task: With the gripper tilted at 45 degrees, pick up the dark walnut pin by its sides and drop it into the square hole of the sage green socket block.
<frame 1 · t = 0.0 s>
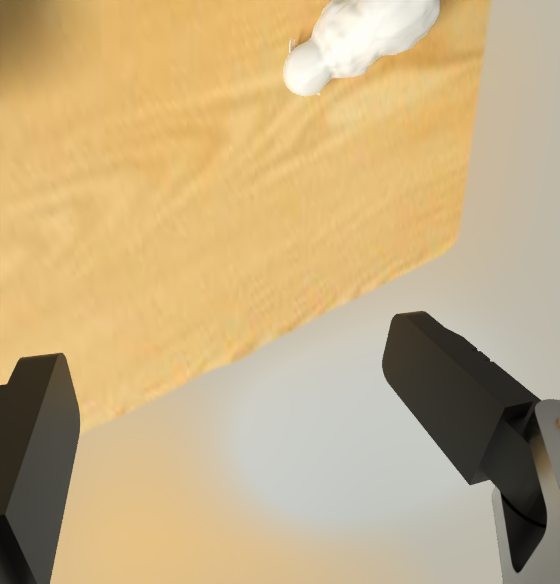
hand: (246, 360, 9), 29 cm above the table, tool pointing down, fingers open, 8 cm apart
white animal figurine: (330, 42, 33), on the table
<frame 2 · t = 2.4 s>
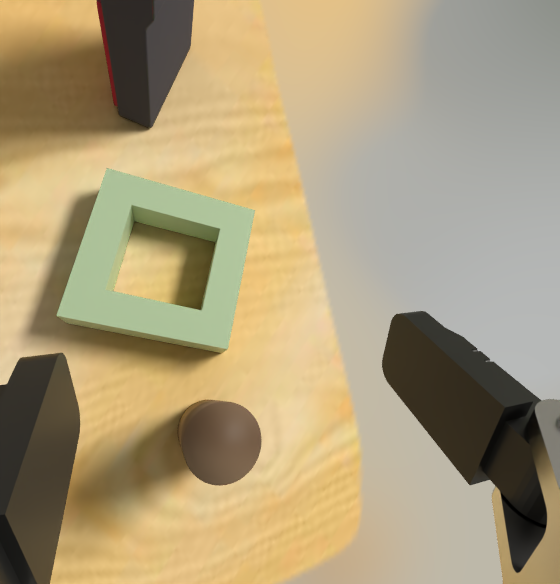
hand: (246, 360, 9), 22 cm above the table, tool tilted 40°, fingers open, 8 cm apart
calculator: (156, 81, 36), on the table
walnut pin: (206, 429, 30), on the table
socket block: (166, 269, 32), on the table
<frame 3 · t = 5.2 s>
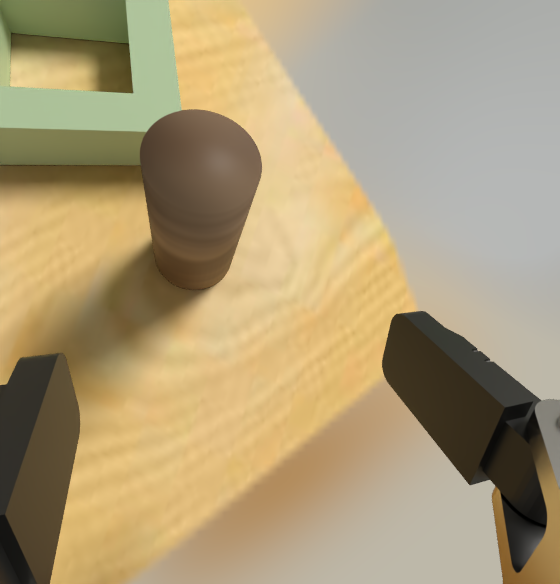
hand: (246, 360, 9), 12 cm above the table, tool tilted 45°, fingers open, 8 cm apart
walnut pin: (193, 254, 22), on the table
socket block: (75, 82, 24), on the table
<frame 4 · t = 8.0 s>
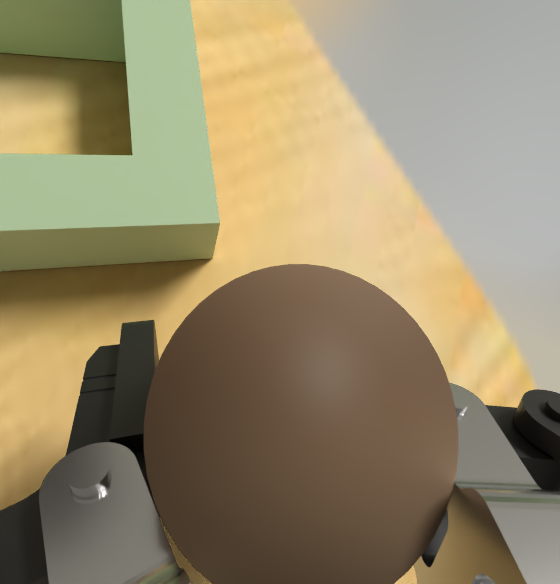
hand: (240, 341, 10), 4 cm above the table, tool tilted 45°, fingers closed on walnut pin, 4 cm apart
walnut pin: (230, 415, 13), on the table, touching gripper
socket block: (40, 125, 15), on the table
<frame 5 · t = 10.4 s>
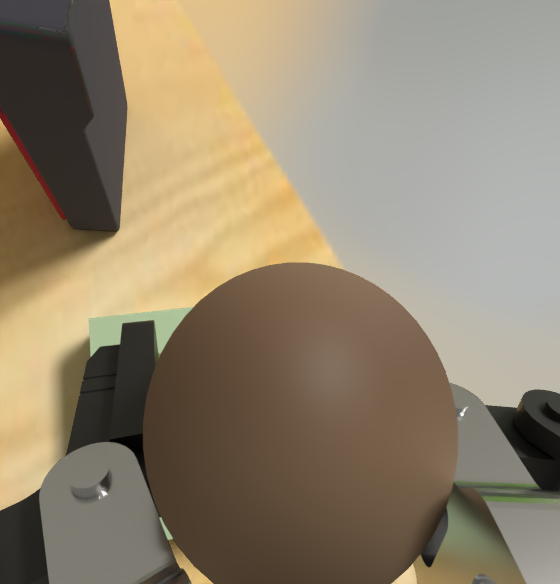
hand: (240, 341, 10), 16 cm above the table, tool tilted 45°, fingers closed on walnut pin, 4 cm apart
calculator: (101, 165, 28), on the table
walnut pin: (231, 414, 13), point 12 cm above the table, touching gripper
socket block: (205, 408, 24), on the table
when the fingers open (6 cm above the table, at t = 12.8 s): walnut pin drops 1 cm, resting in socket block.
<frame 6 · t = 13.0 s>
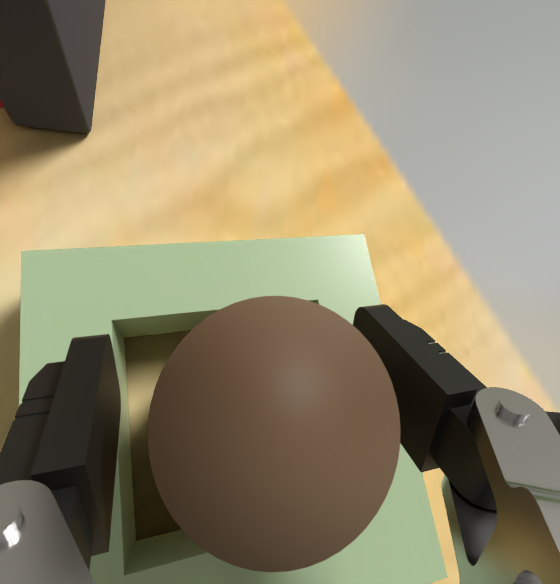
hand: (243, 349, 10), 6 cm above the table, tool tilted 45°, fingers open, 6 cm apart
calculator: (67, 42, 18), on the table
walnut pin: (225, 416, 15), resting in socket block
socket block: (225, 415, 15), on the table
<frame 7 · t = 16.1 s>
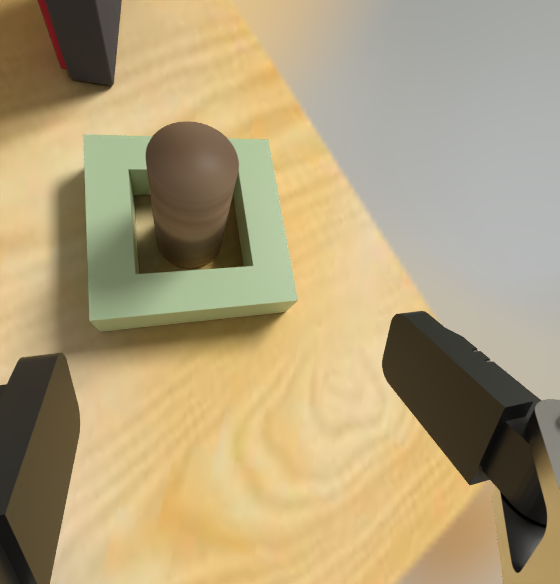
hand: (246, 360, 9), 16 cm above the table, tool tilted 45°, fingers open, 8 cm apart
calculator: (98, 32, 30), on the table
walnut pin: (189, 238, 27), resting in socket block
socket block: (189, 238, 27), on the table
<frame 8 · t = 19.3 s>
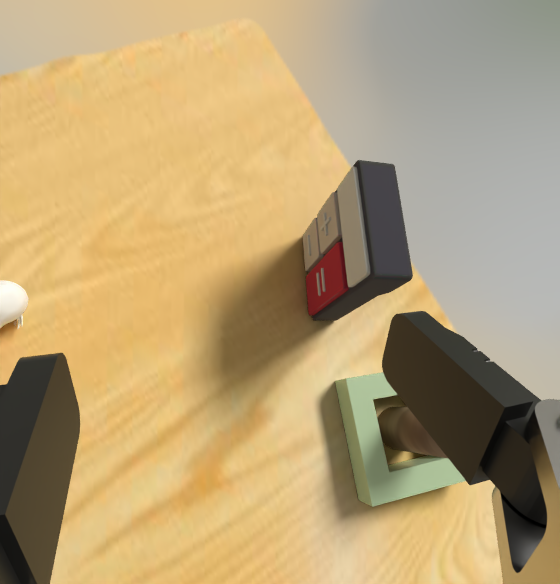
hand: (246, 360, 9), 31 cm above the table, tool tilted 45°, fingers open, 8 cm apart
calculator: (318, 276, 45), on the table
walnut pin: (395, 427, 42), resting in socket block
socket block: (395, 427, 42), on the table
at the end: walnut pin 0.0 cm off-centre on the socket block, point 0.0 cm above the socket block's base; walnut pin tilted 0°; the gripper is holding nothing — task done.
